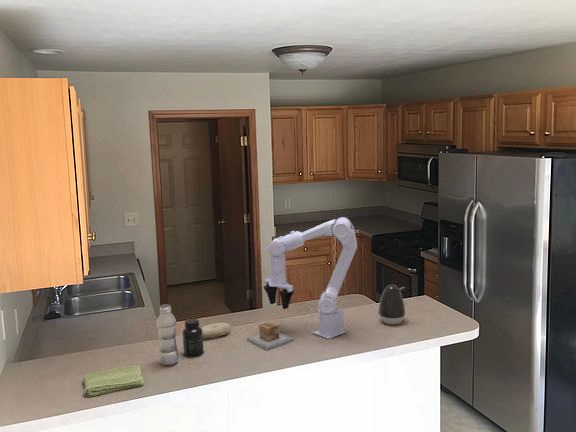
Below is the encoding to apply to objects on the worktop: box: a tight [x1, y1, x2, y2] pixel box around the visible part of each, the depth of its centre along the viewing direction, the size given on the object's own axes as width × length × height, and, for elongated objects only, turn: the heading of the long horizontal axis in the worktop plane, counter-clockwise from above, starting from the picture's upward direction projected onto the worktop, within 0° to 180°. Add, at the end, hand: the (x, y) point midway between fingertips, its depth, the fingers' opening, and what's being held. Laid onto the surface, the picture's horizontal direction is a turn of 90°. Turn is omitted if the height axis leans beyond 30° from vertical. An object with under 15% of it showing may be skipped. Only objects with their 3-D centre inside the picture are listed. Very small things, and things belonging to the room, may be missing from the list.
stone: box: [201, 322, 232, 339], centre depth 203 cm, size 6×6×12 cm
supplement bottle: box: [182, 318, 205, 358], centre depth 187 cm, size 7×7×12 cm
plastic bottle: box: [156, 303, 180, 366], centre depth 180 cm, size 6×7×20 cm
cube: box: [258, 321, 280, 342], centre depth 197 cm, size 5×5×5 cm
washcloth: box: [82, 364, 145, 398], centre depth 168 cm, size 13×18×3 cm
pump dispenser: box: [378, 284, 406, 325], centre depth 211 cm, size 10×10×15 cm
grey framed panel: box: [246, 332, 294, 351], centre depth 197 cm, size 12×12×1 cm
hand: (279, 305), depth 204 cm, fingers open, 7 cm apart
